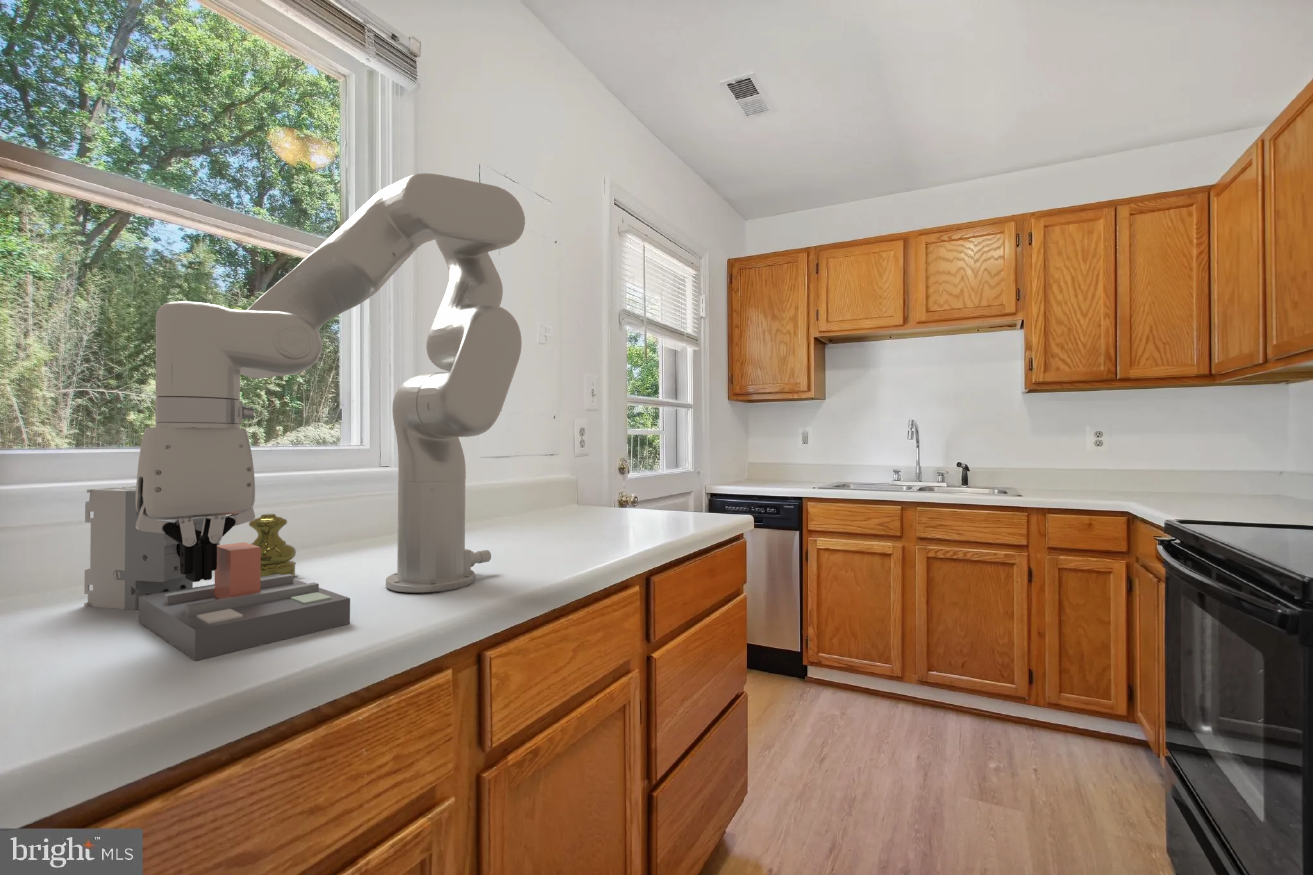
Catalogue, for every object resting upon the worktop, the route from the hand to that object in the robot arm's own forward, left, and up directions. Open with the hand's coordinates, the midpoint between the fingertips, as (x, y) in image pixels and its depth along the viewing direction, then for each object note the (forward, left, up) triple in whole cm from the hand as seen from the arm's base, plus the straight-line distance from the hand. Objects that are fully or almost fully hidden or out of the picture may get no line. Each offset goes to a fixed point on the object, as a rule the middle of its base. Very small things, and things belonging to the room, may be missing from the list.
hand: (198, 578), depth 67 cm
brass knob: (-15, -22, -6) cm, 27 cm away
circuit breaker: (-1, -19, -6) cm, 20 cm away
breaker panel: (-4, 0, -6) cm, 7 cm away
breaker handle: (-4, 0, -3) cm, 5 cm away
